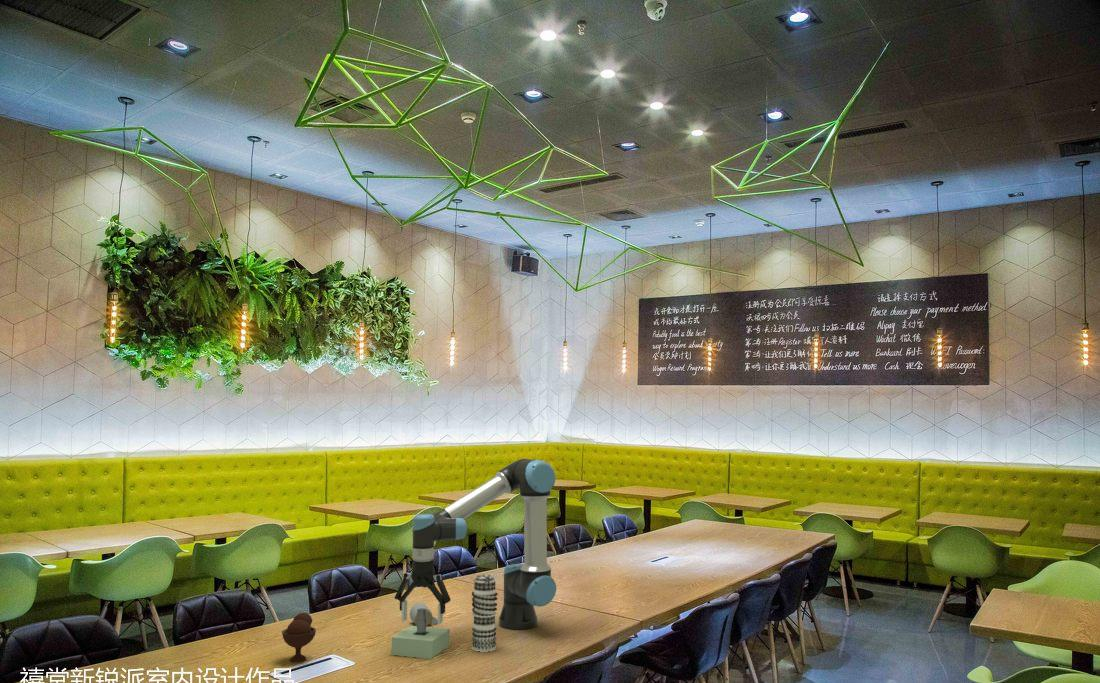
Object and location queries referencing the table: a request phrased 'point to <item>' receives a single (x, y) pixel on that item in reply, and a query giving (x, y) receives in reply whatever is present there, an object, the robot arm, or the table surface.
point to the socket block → (420, 642)
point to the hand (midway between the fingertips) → (422, 621)
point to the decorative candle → (484, 613)
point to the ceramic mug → (428, 616)
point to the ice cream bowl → (299, 635)
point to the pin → (421, 621)
